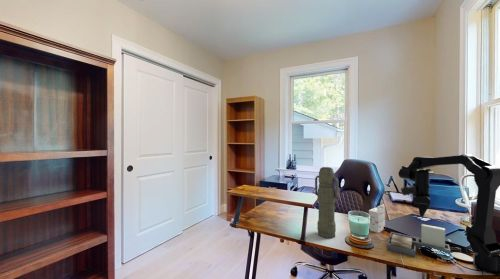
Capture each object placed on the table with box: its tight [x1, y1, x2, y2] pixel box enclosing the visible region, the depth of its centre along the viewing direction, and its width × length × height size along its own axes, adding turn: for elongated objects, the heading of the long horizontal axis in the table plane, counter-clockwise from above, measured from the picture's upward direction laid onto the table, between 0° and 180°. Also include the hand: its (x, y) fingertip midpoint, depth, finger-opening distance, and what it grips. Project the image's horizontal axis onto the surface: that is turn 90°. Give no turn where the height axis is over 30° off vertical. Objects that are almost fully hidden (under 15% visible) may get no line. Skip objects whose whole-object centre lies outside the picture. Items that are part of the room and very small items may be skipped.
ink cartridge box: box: [368, 203, 386, 233], centre depth 119 cm, size 9×5×15 cm, turn 126°
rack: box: [386, 231, 451, 258], centre depth 97 cm, size 22×17×4 cm
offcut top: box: [392, 234, 412, 246], centre depth 97 cm, size 7×4×2 cm, turn 52°
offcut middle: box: [391, 239, 411, 249], centre depth 97 cm, size 7×4×2 cm, turn 52°
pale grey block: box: [420, 223, 446, 248], centre depth 97 cm, size 8×2×10 cm, turn 52°
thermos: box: [314, 166, 340, 239], centre depth 114 cm, size 9×12×35 cm
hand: (421, 213), depth 108 cm, fingers open, 9 cm apart
